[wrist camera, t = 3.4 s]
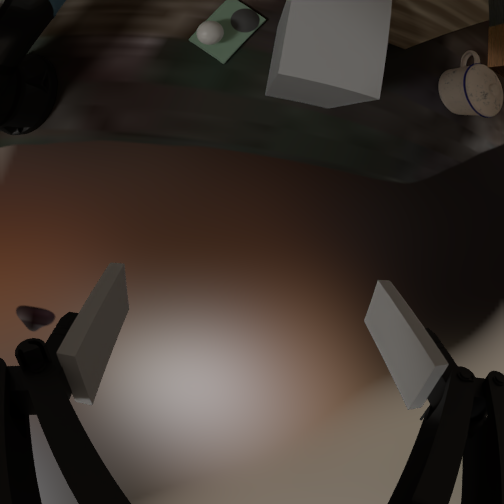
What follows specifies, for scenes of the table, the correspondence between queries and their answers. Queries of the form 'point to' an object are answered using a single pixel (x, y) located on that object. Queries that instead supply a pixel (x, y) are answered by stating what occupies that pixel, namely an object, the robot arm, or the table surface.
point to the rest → (330, 51)
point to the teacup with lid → (471, 88)
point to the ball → (210, 32)
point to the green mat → (231, 29)
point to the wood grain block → (432, 19)
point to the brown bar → (496, 36)
